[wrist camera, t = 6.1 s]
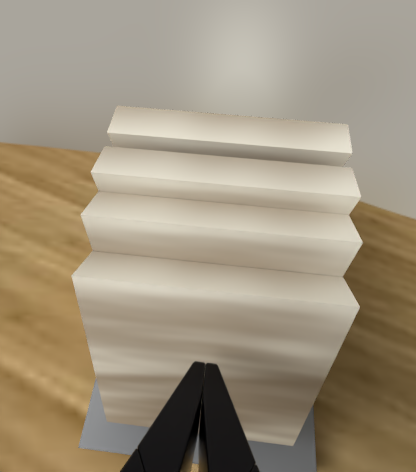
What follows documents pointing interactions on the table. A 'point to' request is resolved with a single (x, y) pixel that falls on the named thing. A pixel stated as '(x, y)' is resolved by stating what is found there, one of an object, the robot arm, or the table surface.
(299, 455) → the board
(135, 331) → the domino
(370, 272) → the table surface
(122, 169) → the domino
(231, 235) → the domino
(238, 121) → the domino
